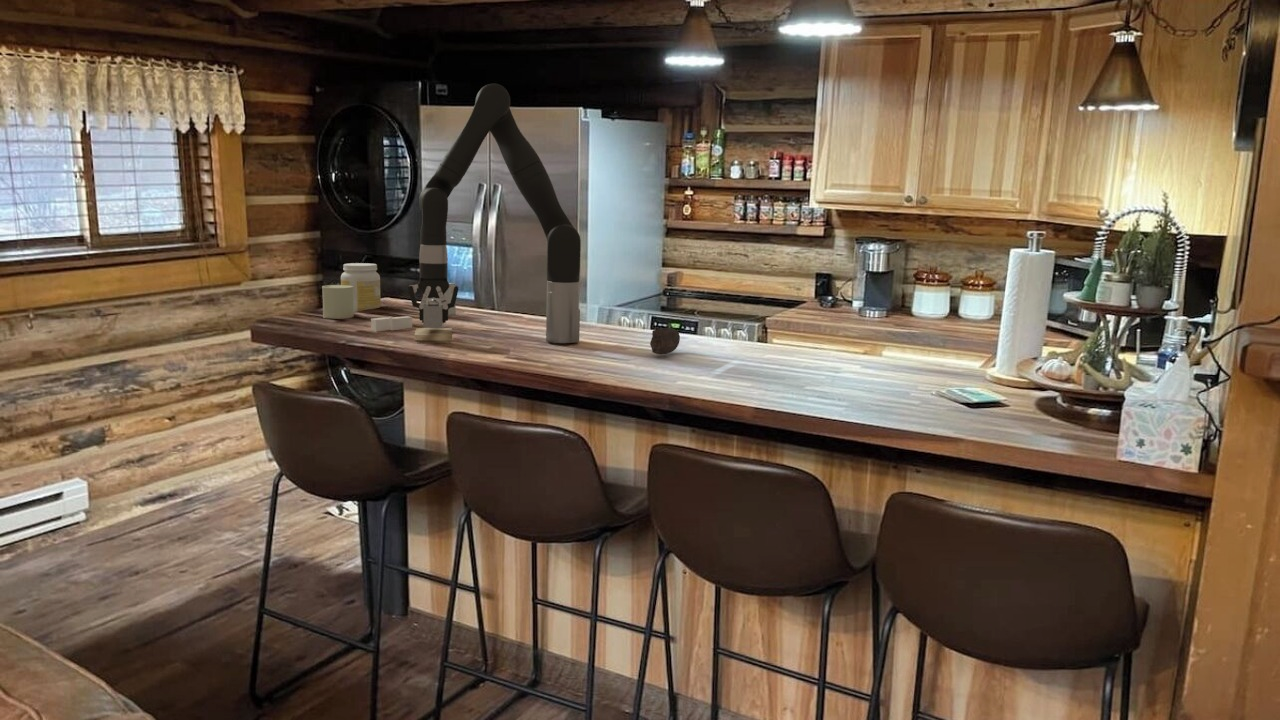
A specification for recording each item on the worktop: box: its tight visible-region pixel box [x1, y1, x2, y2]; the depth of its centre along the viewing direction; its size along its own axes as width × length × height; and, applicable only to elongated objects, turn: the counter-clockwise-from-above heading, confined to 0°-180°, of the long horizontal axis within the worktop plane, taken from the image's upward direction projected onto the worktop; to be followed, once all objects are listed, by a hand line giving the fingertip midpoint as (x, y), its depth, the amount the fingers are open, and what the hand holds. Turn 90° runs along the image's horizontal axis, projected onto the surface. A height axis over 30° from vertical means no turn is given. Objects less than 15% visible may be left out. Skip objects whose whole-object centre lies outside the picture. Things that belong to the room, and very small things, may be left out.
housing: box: [423, 299, 445, 328], centre depth 265 cm, size 5×9×7 cm, turn 8°
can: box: [321, 284, 355, 320], centre depth 289 cm, size 9×9×12 cm
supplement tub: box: [340, 262, 382, 313], centre depth 307 cm, size 12×12×17 cm
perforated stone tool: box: [649, 327, 681, 355], centre depth 258 cm, size 15×5×7 cm, turn 153°
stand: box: [413, 327, 453, 345], centre depth 266 cm, size 10×13×2 cm
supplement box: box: [422, 282, 457, 317], centre depth 299 cm, size 7×7×13 cm
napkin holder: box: [370, 315, 413, 333], centre depth 273 cm, size 15×11×6 cm
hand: (433, 322), depth 265 cm, fingers closed on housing, 5 cm apart
